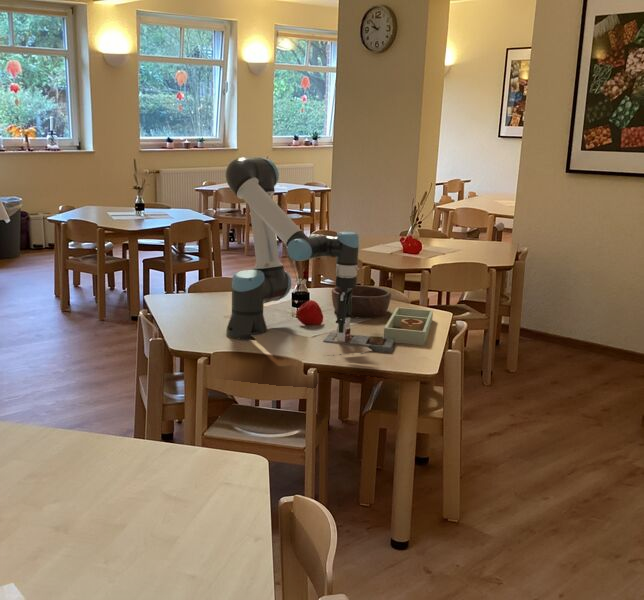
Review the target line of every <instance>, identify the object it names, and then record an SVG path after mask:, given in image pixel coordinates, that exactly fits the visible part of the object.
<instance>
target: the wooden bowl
mask: <svg viewBox="0 0 644 600" xmlns="http://www.w3.org/2000/svg"><path fill="white" fill-rule="evenodd" d="M351 289H352V314H351V315H353V316H352V317H351V318H355V317H359V318H358V319H374V318H380V317H383V316H385V314H386V313H387V312H388V309H389V307H390V302H391V299H392V298H391V297H392V292H391V291H390V290H388V289H386V288H382V287H379V286H378V287H377V286H372V285H371V286H370V285H362V284H360V285H358V284H357V286H356V287H355V288H351ZM339 292H341V288H340V287H337V286H335V287H333V288H332V290H331V300H332V305H333V308H334V311H335V312H336V314H338V301H339V297H338V296H339Z"/></svg>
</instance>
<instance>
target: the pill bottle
mask: <svg viewBox="0 0 644 600" xmlns="http://www.w3.org/2000/svg"><path fill="white" fill-rule="evenodd" d="M345 323H346V329H345V342H349V341H351V336H350V334H351V328H352V327H351V320H350V321H349V320H345ZM349 325H350V326H349ZM336 328H337V329H336V330H337V331H338V326H337V327H336ZM337 331H336V332H337Z"/></svg>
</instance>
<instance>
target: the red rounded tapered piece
mask: <svg viewBox="0 0 644 600" xmlns="http://www.w3.org/2000/svg"><path fill="white" fill-rule="evenodd" d="M296 318H297V320H298V321H299V322H300V323H301V324H302V325H304V326H305V327H307V326H319V325H320V326H321V324H323V322H324V321H323V320H324V315H323V312H322V308H321V307H320V305H319V304H318V302H317V301H316V300H310V299H309V300H308V301H305V302H304V303H303V302H302V303H301V305H300V306H299V308H298V309H297V310H296Z"/></svg>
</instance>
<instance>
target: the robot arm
mask: <svg viewBox="0 0 644 600" xmlns="http://www.w3.org/2000/svg"><path fill="white" fill-rule="evenodd" d="M225 170H226V171H225V181H226V182H227V185H228V187H229V189H230V191H232V192H233V194H234V195H235V196H236V197H237V198H238V199H239V200H244V202H246V204H247V205H248V206H249V214H250V215H249V216H250V219H251V220H250V222H251V229H252V230H251V231H252V238H253V245H254V254H255V262H256V263H255V265H254V266H253V268H252V269H247V270H246V269H244V270H241V271H238V272H236V273H234V274H233V276H232V282H231V315H230V318H229V320H228V324H227V325H226V332H225V335H226V336H227V337H228V338H231V339H235V340H236V339H237V340H246V341H249V340H250V341H251V340H252V341H253V340H256V339H255V337H254V336H258V335H262V334H266V333H267V332H268V330H269V329H268V326H267V323H266V319H265V315H264V308H265V307H264V304H267V303H271V302H277V301H280V300H281V299H284V298H286V296H288V294H289V293H290V291H291V288H292V278H291V276H290V274H289V273H288V271H287V270H285V269H284V268H285V266H284V264H283V263H282V262H281V261H280V257H279V251H278V242H277V238H279V239H280V240H281V241H282V243H284V245H285V246H286V252H287V255H288V257H289V259H291V260H292V261H296V262H302V261H303V262H305V261H306V260H312V259H317V258H321V257H325V258H326V257H328V258H334V259H336V265H335V274H336V276H335V287H340V288H341V292H339V296H338V297H339V301H338V313H336V314H337V315H336V316H337V317H336V320H335V323H336V324H337V327H338V331H336V333H337V335H336V341H343V342H346V341H345V329H346V323H345V320H349V321H350V322H351V318H353V317H352V316H353V315H351V314H352V289H351V288H355V287H356V286H357V285H358V284H357V283H358V282H357V281H358V277H357V275H358V271H360V268H359V267H358V265H359V264H358V259H359V249H360V240H359V238H360V236H359V234H358V233H357V232H353V231H339V232H337V236H333V235H325V234H322V233H318V234H317V233H313V234H312V233H311V234H310V235H309V236H307V235H306V233H305V232H303V230H301V229H300V227H299V226H298V225H297V224H296V223H295V222H294V221H293V219H292V218H290V217H289V215H288V214H287V213H286V212H285V211H284V210H283V209H282V208H281V206H280V205H278V203H276V201H275V200H274V199H273V198H272V197H273V196H274V194H275V193H276V192H275V186H276V185H277V183H278V182H279V178H280V173H279V170H278V167H277V165H276V164H275V163H274V162H273V161H272V160H270V159H269V158H264V157H238V158H235V159H233V160H231V162H230V163H229V164H228V166H227V167H226V169H225ZM349 326H350V327H351V324H350V325H349Z"/></svg>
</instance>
